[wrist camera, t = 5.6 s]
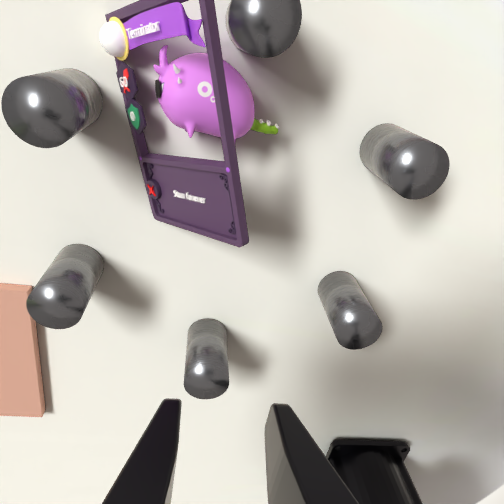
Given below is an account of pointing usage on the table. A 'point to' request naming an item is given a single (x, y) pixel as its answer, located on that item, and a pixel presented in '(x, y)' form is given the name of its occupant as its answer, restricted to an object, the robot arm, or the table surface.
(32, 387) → the mat
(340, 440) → the robot arm
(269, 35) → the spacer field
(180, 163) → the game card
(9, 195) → the table surface
